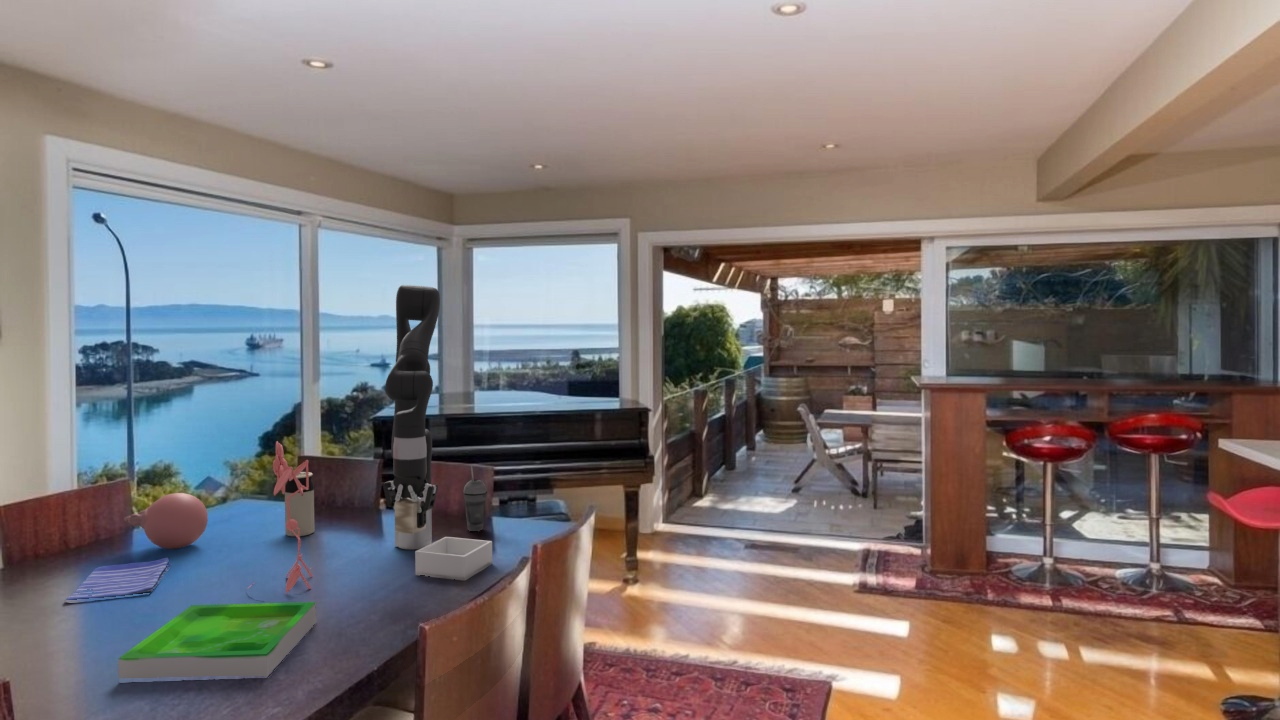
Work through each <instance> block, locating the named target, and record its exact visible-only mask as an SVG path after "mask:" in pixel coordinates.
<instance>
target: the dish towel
mask: <svg viewBox="0 0 1280 720" xmlns="http://www.w3.org/2000/svg"><path fill="white" fill-rule="evenodd" d="M171 567H172V563H170V561H169V558H168V557H164V558H160V559H157V560H151V561H150V560H149V561H143V562H130V563H125V564H113V565H111V564H110V565H104V566H99V567H96V568H94V569H93V570H92V572H91V573H90V574H89V575H88V576H87V577H86V578H85V579H86V580H85V579H84V580H83V582H81V584H80V585H79V586H78V587H76V589H77V590H76V589H75V590H76V591H75V590H74V591H75V592H74V591H73V592H74V593H73V592H72V594H78V593H79V594H80V593H92V592H94V593H96V592H97V594H86V595H84V594H83V595H71V594H70V595H71V596H70V595H69V596H68V597H67V598H66V599H65V600H77V599H89V598H104V597H116V596H125V595H133V594H143V593H151V592H152V590H153V589H154V588H155V587H156V586H159V584H160V583H159V581H160V580H161V578H162V577H163V575H164V574H165V572H167V571H168V572H169V570H170V569H171ZM169 568H170V569H169ZM168 569H169V570H168ZM168 572H167V573H168ZM163 578H164V577H163ZM161 581H162V580H161ZM161 581H160V582H161ZM158 583H159V584H158ZM156 588H157V587H156ZM156 588H155V589H156ZM87 589H90V590H91V589H93V591H88V592H83V590H87ZM98 592H100V593H98ZM101 592H102V593H101ZM152 593H153V592H152ZM152 593H151V594H152ZM88 595H92V596H88Z"/></svg>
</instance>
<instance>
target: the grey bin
mask: <svg viewBox="0 0 1280 720" xmlns="http://www.w3.org/2000/svg"><path fill="white" fill-rule="evenodd" d="M414 556H415V558H414V559H415V560H414V561H415V562H414V563H415V565H414V566H415V576H420V575H425V576H424V577H428V576H430V577H429V578H437V579H439V578H440V579H445V580H446V579H447V580H454V579H455V580H456V581H463V582H464V581H467V580H469V579H470V578H472V577H473V576H475V575H477V574H478V573H480V572H482V571H483V570H485V569H486V568H487V567H490V566H491V565H493V540H483V539H472V538H464V537H463V538H462V537H453V536H444V537H442V538H440V539H438V540H435V541H434V542H432V544H429V545H427V546H425V547H423V548H421V549H416V550H415V552H414Z"/></svg>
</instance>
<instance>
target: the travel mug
mask: <svg viewBox="0 0 1280 720" xmlns="http://www.w3.org/2000/svg"><path fill="white" fill-rule="evenodd" d="M313 475H314V474H313V473H312V472H310V471H308V478H309V489H308V490H306V489H304V490H303V496H301V494H300V492H298V493H296V494H295V495H294V496H292V497H291V498H289V508H290V519H294V520H296V521H297V523H298V527H297V528H299V529H300V537H306V536H309V535H312V534H313V533H314V532H315V488H314V487H315V486H314V482H313V480H312V478H313ZM289 478H290V477H289ZM296 478H297V479H298V480H299V482H300V483H301V484H302V485H303V486H305V487H306V471H301V472H300V473H299V474H298V475H297V476H296ZM297 490H299V489H298V487H297V484H296V482H295V480H294V478H293V479H292V480H291V481H289V479H288V481H287V483H286V484H285V493H284V511H285V512H284V515H285V516H284V524H285V525H284V527H285V528H284V530H285V533H284V534H285V535H286V536H288V537H293V538H295V537H296V536H295V535H294V534H293V532H292V531H289V530H288V529H287V528H286V523H287V521H288V520H289V518H288V510H287V502H286V499H288V498H287V497H288V496H290V495H291V494H293V493H294V492H296V491H297ZM293 531H294V532H295V533H296V535H297V536H298V529H295V530H293ZM296 538H297V537H296Z"/></svg>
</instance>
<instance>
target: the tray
mask: <svg viewBox="0 0 1280 720" xmlns="http://www.w3.org/2000/svg"><path fill="white" fill-rule="evenodd" d="M315 623H316V624H317V601H308V602H307V601H306V602H305V601H304V602H303V601H302V602H301V601H300V602H299V601H298V602H267V603H266V602H264V603H263V602H262V603H261V602H260V603H234V604H233V603H225V604H193V605H192V604H191V605H190V606H189V607H187V608H186V609H185V610H183V611H182V612H181V613H179V614H177V615H176V616H175V617H174V618H173V619H171V620H170V621H168V622H167V623H166V624H164V625H162V626H161V627H160V628H159V629H157V630H155V631H154V632H153V633H151V634H150V635H149V636H147V637H146V638H144V639H143V640H142V641H140V642H139V643H137V644H136V645H135V646H134V647H133V646H132V648H130V649H129V650H128V651H127V652H125V653H123V655H121V656H120V657H118V659H117V662H118V663H117V666H118V670H117V671H118V679H119V678H123V679H124V678H157V677H159V678H161V677H192V676H193V677H201V676H268V675H269V674H270V672H272V670H273V669H274V668H275V667H276V666H277V665H278V664H279V663H280V662H281V661H282V659H283V658H284V657H285V656H286V655H287V654H288V653H289V652H290V650H291V649H292V648H293V647H294V646H295V645H296V644H297V643H298V642H299V641H300V639H301V638H302V637H303V636H304V635H305V634H306V633H307V632H308V631H309V630H310V629H311V627H312V628H314V626H315V625H316V624H315ZM314 624H315V625H314ZM313 625H314V626H313ZM311 630H312V629H311ZM311 630H310V631H311ZM310 631H309V632H310ZM309 632H308V633H309ZM308 633H307V634H308ZM307 634H306V635H307ZM306 635H305V636H306ZM300 642H301V641H300ZM300 642H299V643H300ZM299 643H298V644H299ZM298 644H297V645H298ZM290 653H291V652H290ZM290 653H289V654H290ZM282 662H283V661H282Z"/></svg>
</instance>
